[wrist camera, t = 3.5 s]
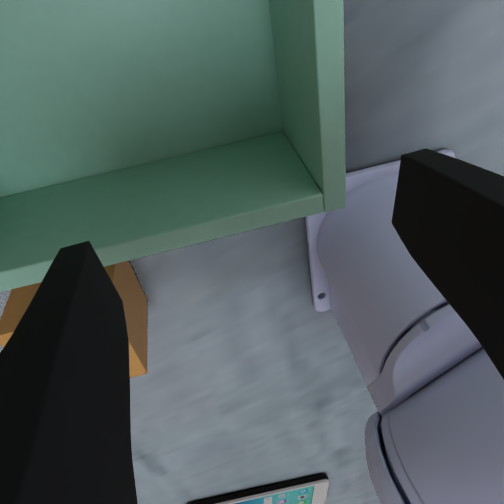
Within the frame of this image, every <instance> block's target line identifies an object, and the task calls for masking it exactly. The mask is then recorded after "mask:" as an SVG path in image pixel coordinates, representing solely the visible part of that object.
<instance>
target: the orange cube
mask: <svg viewBox="0 0 504 504" xmlns="http://www.w3.org/2000/svg"><path fill="white" fill-rule="evenodd" d="M104 268H105V270H106V272H107V274H108V276H109V277H110V279H111V281H112V283H113V284H114V286H115V288H116V290H117V292H118V293H119V295H120V297H121V299H122V301H123V306H124V313H125V319H126V325H127V332H128V340H129V372H130V378H131V377H135V376H139V375H143V374H146V373H147V324H148V301H147V299H146V296H145V294H144V292H143V290H142V288H141V286H140V284H139V282H138V279H137V277H136V275H135V273H134V271H133V269H132V267H131V265H130V263H129V261H125V262H121V263H117V264H113V265H109V266H105V267H104ZM40 284H41V282H40V283H36V284H32V285H27V286H23V287H19V288H15V289H12V290H11V293H10V295H9V298H8V301H7V303H6V306H5V309H4V311H3V314H2V316H1V319H0V345H1V346H2V347H3V348H4V347H5V345H6V344H7V342H8V340H9V339H10V337H11V335H12V334H13V332H14V330H15V329H16V327H17V325H18V323H19V322H20V320H21V318H22V316H23V315H24V313H25V311H26V309H27V308H28V306H29V304H30V302H31V301H32V299H33V297H34V295H35V293H36V291H37V290H38V288H39V286H40Z"/></svg>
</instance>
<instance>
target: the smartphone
mask: <svg viewBox="0 0 504 504" xmlns="http://www.w3.org/2000/svg"><path fill="white" fill-rule="evenodd" d="M328 486H329V479H328V477H327V475H326V474H320V475H316V476H311V477H307V478H302V479H298V480H293V481H289V482H284V483H280V484H275V485H271V486H266V487H262V488H257V489H253V490H248V491H244V492H239V493H235V494H230V495H226V496H221V497H217V498H212V499H208V500H203V501H199V502H194V503H191V504H325V500H326V495H327V491H328Z"/></svg>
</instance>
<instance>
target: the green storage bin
mask: <svg viewBox="0 0 504 504" xmlns="http://www.w3.org/2000/svg"><path fill="white" fill-rule="evenodd" d="M345 207H346V163H345V89H344V16H343V0H0V292H3V291H7V290H11V289H15V288H19V287H23V286H27V285H32V284H36V283H40V282H42V280H43V278H44V277H45V275H46V273H47V271H48V269H49V267H50V266H51V264H52V262H53V260H54V258H55V257H56V255H57V253H58V251H59V250H60V248H63V247H67V246H71V245H74V244H78V243H82V242H85V241H90V243H91V245H92V247H93V249H94V250H95V252H96V254H97V256H98V258H99V259H100V261H101V263H102V265H103V267H105V266H109V265H113V264H117V263H121V262H125V261H129V260H133V259H137V258H141V257H145V256H149V255H153V254H157V253H161V252H165V251H169V250H173V249H178V248H182V247H186V246H190V245H194V244H198V243H202V242H206V241H210V240H214V239H218V238H222V237H226V236H230V235H234V234H238V233H242V232H246V231H251V230H255V229H259V228H263V227H267V226H271V225H275V224H279V223H283V222H287V221H291V220H295V219H299V218H303V217H307V216H311V215H315V214H319V213H323V212H329V211H333V210H337V209H341V208H345Z"/></svg>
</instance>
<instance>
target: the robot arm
mask: <svg viewBox="0 0 504 504" xmlns="http://www.w3.org/2000/svg"><path fill="white" fill-rule="evenodd" d="M305 222H306V232H307V243H308V254H309V265H310V275H311V286H312V297H313V305H314V308H315V310H316V311H318V312H323V311H327V310H330V309H332V311H333V314H334V316H335V318H336V320H337V322H338V324H339V326H340V329H341V331H342V333H343V335H344V337H345V339H346V341H347V344H348V346H349V348H350V350H351V352H352V354H353V356H354V358H355V361H356V363H357V365H358V367H359V369H360V371H361V373H362V376H363V378H364V379H365V381H366V383H367V384H368V387H367V388H368V390H369V392H370V394H371V397H372V399H373V401H374V403H375V405H376V407H377V409H378V412H376V413H374V414H373V415H372V416H370V418H369V419H368V421H367V423H366V428H365V445H366V460H367V465H368V470H369V473H370V477H371V480H372V483H373V486H374V488H375V491H376V493H377V496H378V498H379V500H380V502H381V504H504V176H501V175H499V174H496V173H493V172H491V171H488V170H485V169H483V168H480V167H477V166H475V165H472V164H470V163H467V162H464V161H461V160H459V159H456V158H455V154H454V153H453V152H452V151H451V150H448V149H444V150H440V151H432V150H429V149H423V150H419V151H415V152H412V153H408V154H404V155H401V160H399V161H395V162H391V163H386V164H382V165H378V166H374V167H370V168H366V169H362V170H358V171H354V172H349V173H346V207H345V208H341V209H337V210H333V211H329V212H323V213H319V214H315V215H311V216H307V217H305ZM320 293H322V294H320ZM319 294H320V295H319ZM0 504H137V496H136V488H135V479H134V471H133V463H132V451H131V432H130V372H129V340H128V332H127V325H126V319H125V313H124V306H123V301H122V299H121V297H120V295H119V293H118V292H117V290H116V288H115V286H114V284H113V283H112V281H111V279H110V277H109V276H108V274H107V272H106V270H105V268H104V267H103V265H102V263H101V261H100V259H99V258H98V256H97V254H96V252H95V250H94V249H93V247H92V245H91V243H90V241H85V242H82V243H78V244H74V245H71V246H67V247H63V248H60V250H59V251H58V253H57V255H56V257H55V258H54V260H53V262H52V264H51V266H50V267H49V269H48V271H47V273H46V275H45V277H44V278H43V280H42V282H41V284H40V286H39V288H38V290H37V291H36V293H35V295H34V297H33V299H32V301H31V302H30V304H29V306H28V308H27V309H26V311H25V313H24V315H23V316H22V318H21V320H20V322H19V323H18V325H17V327H16V329H15V330H14V332H13V334H12V335H11V337H10V339H9V340H8V342H7V344H6V345H5V347H4V348H3V350H2V351H1V353H0Z"/></svg>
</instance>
